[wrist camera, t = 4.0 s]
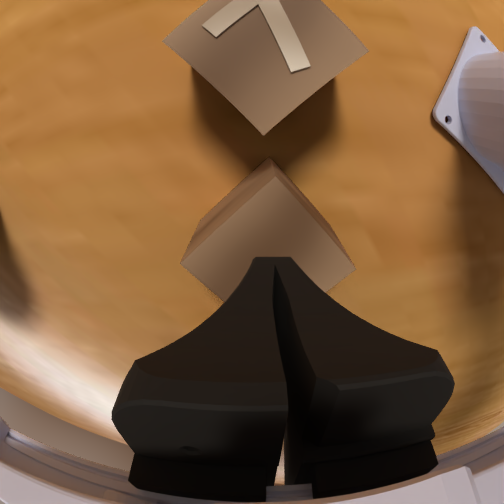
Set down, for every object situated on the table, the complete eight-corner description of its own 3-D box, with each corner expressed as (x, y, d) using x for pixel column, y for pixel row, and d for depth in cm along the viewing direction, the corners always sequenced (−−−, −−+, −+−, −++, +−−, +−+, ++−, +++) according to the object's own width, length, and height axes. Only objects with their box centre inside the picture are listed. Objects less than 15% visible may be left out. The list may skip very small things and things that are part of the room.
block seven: (333, 68, 12) (370, 50, 8) (260, 128, 14) (263, 135, 9) (265, 2, 11) (269, -43, 6) (191, 62, 12) (161, 40, 8)
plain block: (329, 224, 16) (356, 269, 12) (262, 277, 18) (265, 334, 13) (269, 156, 14) (275, 176, 10) (200, 219, 16) (179, 263, 11)
